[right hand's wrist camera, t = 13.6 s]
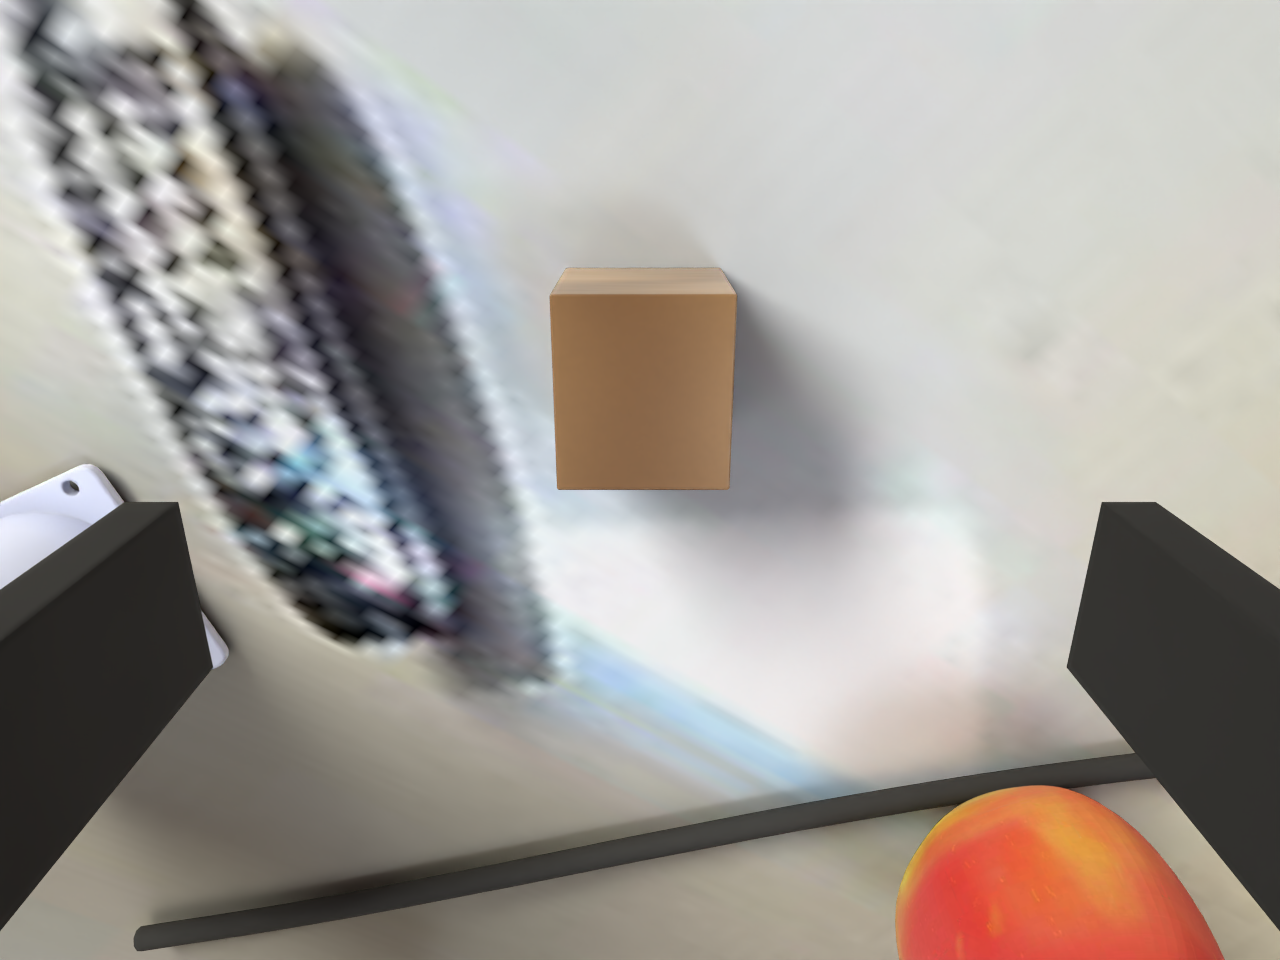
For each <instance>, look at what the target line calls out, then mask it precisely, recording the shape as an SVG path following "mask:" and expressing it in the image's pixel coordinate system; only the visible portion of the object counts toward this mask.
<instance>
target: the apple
mask: <svg viewBox="0 0 1280 960" xmlns="http://www.w3.org/2000/svg"><path fill="white" fill-rule="evenodd" d="M895 925H896V941H897V948H898V954H899V960H1224V957H1223V955H1222V953H1221V951H1220V948H1219V946H1218V944H1217V942H1216V940H1215V938H1214V936H1213V934H1212V932H1211V930H1210V929H1209V927H1208V925H1207V923H1206V921H1205V919H1204V917H1203V916H1202V914H1201V912H1200V911H1199V909H1198V908H1197V906H1196V904H1195V903H1194V901H1193V899H1192V898H1191V896H1190V895H1189V893H1188V892H1187V890H1186V889H1185V887H1184V886H1183V885H1182V883H1181V882H1180V880H1179V879H1178V878H1177V876H1176V875H1175V873H1174V872H1173V871H1172V869H1171V868H1170V867H1169V866H1168V864H1167V863H1166V862H1165V861H1164V859H1163V858H1162V857H1161V856H1160V855H1159V853H1158V852H1157V851H1156V850H1155V849H1154V848H1153V847H1152V845H1151V844H1150V843H1149V842H1148V841H1147V840H1146V839H1145V838H1144V837H1143V836H1142V835H1141V834H1140V833H1139V832H1138V831H1137V830H1136V829H1134V828H1133V827H1132V826H1131V825H1130V824H1128V823H1127V822H1126V821H1125V820H1124V819H1122V818H1121V817H1120V816H1118V815H1117V814H1115V813H1114V812H1112V811H1111V810H1109V809H1108V808H1106V807H1105V806H1103V805H1102V804H1100V803H1099V802H1097V801H1095V800H1093V799H1091V798H1089V797H1087V796H1085V795H1083V794H1080V793H1077V792H1074V791H1071V790H1069V789H1065V788H1061V787H1055V786H1044V785H1034V786H1021V787H1014V788H1007V789H1001V790H997V791H993V792H989V793H986V794H983V795H980V796H977V797H975V798H972V799H970V800H968V801H966V802H964V803H962V804H960V805H959V806H957V807H956V808H954V809H953V810H952V811H950V812H949V813H948V814H946V815H945V816H944V817H943V818H942V819H941V820H940V821H939V822H938V823H937V824H936V825H935V826H934V827H933V829H932V830H931V831H930V832H929V834H928V835H927V836H926V838H925V839H924V840H923V842H922V843H921V845H920V846H919V848H918V849H917V851H916V853H915V854H914V856H913V857H912V859H911V861H910V863H909V865H908V867H907V869H906V871H905V873H904V876H903V879H902V882H901V884H900V888H899V893H898V898H897V903H896V918H895Z"/></svg>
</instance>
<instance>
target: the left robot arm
mask: <svg viewBox="0 0 1280 960" xmlns="http://www.w3.org/2000/svg"><path fill="white" fill-rule="evenodd" d="M70 481H73V482H75V483H76V484H77V485H78V487H79V491H77V490H74V489H73V488H72V487H71V485H70ZM122 503H124V501H123V500H122V498H121V497H120V496H119V494H118V493H117V491H116V490H115V489H114V487H113V486H112V484H111V483H110V482H109V480H108V479H107V477H106V476H105V475H104V473H103V472H102V471H101V470H100V469H99V468H98V467H96V466H94V465H91V464H83V465H79V466H77V467H75V468H73V469H71V470H68V471H66V472H64V473H62V474H60V475H58V476H55V477H53V478H51V479H49V480H47V481H45V482H42V483H40V484H38V485H36V486H34V487H32V488H30V489H27V490H25V491H23V492H21V493H19V494H17V495H14V496H12V497H10V498H8V499H6V500H4V501H1V502H0V589H2V588H3V587H4V586H6V585H7V584H9V583H10V582H12V581H13V580H14V579H16V578H17V577H19V576H20V575H21V574H23V573H24V572H26V571H27V570H29V569H30V568H31V567H33V566H34V565H36V564H37V563H39V562H40V561H41V560H43V559H44V558H46V557H47V556H48V555H50V554H51V553H53V552H54V551H56V550H57V549H58V548H60V547H61V546H63V545H64V544H66V543H67V542H68V541H70V540H71V539H73V538H74V537H75V536H77V535H78V534H80V533H81V532H83V531H84V530H85V529H87V528H88V527H90V526H91V525H93V524H94V523H95V522H97V521H98V520H100V519H101V518H102V517H104V516H105V515H107V514H108V513H110V512H111V511H112V510H114V509H115V508H117V507H118V506H119V505H121V504H122ZM201 612H202V610H201ZM202 617H203V621H204V626H205V631H206V635H207V640H208V645H209V650H210V654H211V659H212V664H213V668H212V669H215V668H217V667H219V666H221V665H222V664H223V663H224V662H225V661H226V659H227V658H228V656H229V649H228V647H227V645H226V644H225V642H224V641H223V640H222V638H221V637H220V635H219V634H218V633H217V631H216V630H215V628H214V627H213V626H212V624H211V623H210V621H209V620H208V619H207V617H206V616H205V614H204V613H203V612H202ZM212 669H211V670H212Z"/></svg>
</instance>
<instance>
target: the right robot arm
mask: <svg viewBox="0 0 1280 960" xmlns="http://www.w3.org/2000/svg"><path fill="white" fill-rule="evenodd" d="M212 668H213V664H212V659H211V654H210V650H209V645H208V640H207V635H206V631H205V626H204V621H203V617H202V612H201V607H200V603H199V598H198V593H197V589H196V584H195V579H194V574H193V570H192V565H191V560H190V556H189V551H188V546H187V542H186V537H185V532H184V527H183V523H182V518H181V513H180V509H179V504H178V502H124V503H122V504H121V505H119V506H118V507H117V508H115V509H114V510H112V511H111V512H110V513H108V514H107V515H105V516H104V517H102V518H101V519H100V520H98V521H97V522H95V523H94V524H93V525H91V526H90V527H88V528H87V529H85V530H84V531H83V532H81V533H80V534H78V535H77V536H75V537H74V538H73V539H71V540H70V541H68V542H67V543H66V544H64V545H63V546H61V547H60V548H58V549H57V550H56V551H54V552H53V553H51V554H50V555H48V556H47V557H46V558H44V559H43V560H41V561H40V562H39V563H37V564H36V565H34V566H33V567H31V568H30V569H29V570H27V571H26V572H24V573H23V574H21V575H20V576H19V577H17V578H16V579H14V580H13V581H12V582H10V583H9V584H7V585H6V586H4V587H3V588H2V589H0V931H1V929H2V928H3V927H4V926H5V924H6V923H7V922H8V921H9V919H10V918H11V917H12V916H13V915H14V913H15V912H16V911H17V910H18V908H19V907H20V906H21V905H22V903H23V902H24V901H25V900H26V898H27V897H28V896H29V895H30V893H31V892H32V891H33V890H34V889H35V887H36V886H37V885H38V884H39V882H40V881H41V880H42V879H43V877H44V876H45V875H46V874H47V872H48V871H49V870H50V869H51V867H52V866H53V865H54V864H55V863H56V861H57V860H58V859H59V858H60V856H61V855H62V854H63V853H64V851H65V850H66V849H67V848H68V846H69V845H70V844H71V843H72V841H73V840H74V839H75V838H76V837H77V835H78V834H79V833H80V832H81V830H82V829H83V828H84V827H85V825H86V824H87V823H88V822H89V820H90V819H91V818H92V817H93V815H94V814H95V813H96V812H97V811H98V809H99V808H100V807H101V806H102V804H103V803H104V802H105V801H106V799H107V798H108V797H109V796H110V794H111V793H112V792H113V791H114V790H115V788H116V787H117V786H118V785H119V783H120V782H121V781H122V780H123V778H124V777H125V776H126V775H127V773H128V772H129V771H130V770H131V768H132V767H133V766H134V765H135V764H136V762H137V761H138V760H139V759H140V757H141V756H142V755H143V754H144V752H145V751H146V750H147V749H148V747H149V746H150V745H151V744H152V742H153V741H154V740H155V739H156V738H157V736H158V735H159V734H160V733H161V731H162V730H163V729H164V728H165V726H166V725H167V724H168V723H169V721H170V720H171V719H172V718H173V716H174V715H175V714H176V713H177V712H178V710H179V709H180V708H181V707H182V705H183V704H184V703H185V702H186V700H187V699H188V698H189V697H190V695H191V694H192V693H193V692H194V690H195V689H196V688H197V687H198V686H199V684H200V683H201V682H202V681H203V679H204V678H205V677H206V676H207V674H208V673H209V672H210V671H211V669H212ZM1067 668H1068V669H1069V671H1070V672H1071V673H1072V674H1073V676H1074V677H1075V678H1076V679H1077V681H1078V682H1079V683H1080V684H1081V686H1082V687H1083V688H1084V689H1085V690H1086V692H1087V693H1088V694H1089V695H1090V697H1091V698H1092V699H1093V700H1094V702H1095V703H1096V704H1097V705H1098V707H1099V708H1100V709H1101V710H1102V712H1103V713H1104V714H1105V715H1106V716H1107V718H1108V719H1109V720H1110V721H1111V723H1112V724H1113V725H1114V726H1115V728H1116V729H1117V730H1118V731H1119V733H1120V734H1121V735H1122V736H1123V738H1124V739H1125V740H1126V741H1127V742H1128V744H1129V745H1130V746H1131V747H1132V749H1133V750H1134V751H1135V752H1136V753H1133V754H1125V755H1117V756H1109V757H1101V758H1093V759H1085V760H1077V761H1070V762H1062V763H1055V764H1047V765H1040V766H1033V767H1025V768H1018V769H1011V770H1004V771H997V772H990V773H984V774H977V775H970V776H964V777H957V778H951V779H944V780H938V781H932V782H926V783H920V784H914V785H908V786H902V787H896V788H890V789H884V790H878V791H872V792H866V793H860V794H854V795H849V796H843V797H837V798H831V799H826V800H820V801H814V802H809V803H803V804H798V805H792V806H787V807H782V808H776V809H771V810H766V811H760V812H755V813H750V814H745V815H739V816H734V817H729V818H724V819H719V820H714V821H709V822H703V823H698V824H693V825H688V826H683V827H678V828H673V829H668V830H662V831H657V832H652V833H647V834H642V835H637V836H632V837H627V838H622V839H617V840H612V841H607V842H602V843H597V844H592V845H587V846H583V847H578V848H573V849H568V850H563V851H558V852H553V853H548V854H543V855H539V856H534V857H529V858H524V859H519V860H514V861H509V862H504V863H499V864H494V865H488V866H483V867H478V868H473V869H468V870H463V871H458V872H453V873H448V874H443V875H438V876H433V877H428V878H423V879H418V880H412V881H407V882H402V883H397V884H392V885H387V886H382V887H376V888H371V889H366V890H360V891H355V892H349V893H344V894H339V895H333V896H327V897H322V898H316V899H310V900H305V901H299V902H293V903H287V904H281V905H275V906H269V907H263V908H257V909H251V910H244V911H238V912H231V913H225V914H218V915H212V916H205V917H199V918H192V919H186V920H179V921H173V922H166V923H160V924H154V925H147V926H141V927H140V928H139V929H138V930H137V931H136V933H135V936H134V947H135V949H136V950H137V951H146V950H152V949H159V948H165V947H172V946H178V945H185V944H191V943H198V942H205V941H211V940H218V939H225V938H231V937H238V936H244V935H251V934H257V933H263V932H270V931H276V930H282V929H288V928H294V927H300V926H306V925H312V924H317V923H323V922H329V921H334V920H340V919H346V918H351V917H357V916H362V915H368V914H373V913H378V912H384V911H389V910H394V909H400V908H405V907H410V906H415V905H420V904H426V903H431V902H436V901H441V900H446V899H451V898H456V897H462V896H467V895H472V894H477V893H482V892H487V891H492V890H498V889H503V888H508V887H513V886H518V885H523V884H528V883H533V882H538V881H543V880H548V879H553V878H558V877H563V876H568V875H573V874H578V873H583V872H588V871H593V870H598V869H603V868H608V867H613V866H618V865H623V864H628V863H633V862H638V861H643V860H648V859H653V858H659V857H664V856H669V855H674V854H679V853H685V852H690V851H695V850H700V849H705V848H711V847H716V846H721V845H726V844H731V843H737V842H742V841H747V840H752V839H758V838H763V837H768V836H774V835H779V834H785V833H790V832H795V831H801V830H807V829H812V828H818V827H823V826H829V825H835V824H841V823H847V822H852V821H858V820H864V819H870V818H876V817H882V816H888V815H894V814H900V813H906V812H912V811H918V810H925V809H931V808H937V807H943V806H950V805H956V804H962V803H964V802H966V801H968V800H970V799H972V798H975V797H977V796H980V795H983V794H986V793H989V792H993V791H997V790H1001V789H1007V788H1014V787H1021V786H1034V785H1044V786H1055V787H1061V788H1065V789H1069V788H1077V787H1085V786H1092V785H1100V784H1108V783H1116V782H1125V781H1133V780H1141V779H1150V778H1157V780H1158V781H1159V782H1160V783H1161V785H1162V786H1163V787H1164V788H1165V790H1166V791H1167V792H1168V793H1169V794H1170V796H1171V797H1172V798H1173V799H1174V801H1175V802H1176V803H1177V804H1178V806H1179V807H1180V808H1181V809H1182V811H1183V812H1184V813H1185V814H1186V815H1187V817H1188V818H1189V819H1190V820H1191V822H1192V823H1193V824H1194V825H1195V827H1196V828H1197V829H1198V830H1199V832H1200V833H1201V834H1202V835H1203V837H1204V838H1205V839H1206V840H1207V841H1208V843H1209V844H1210V845H1211V846H1212V848H1213V849H1214V850H1215V851H1216V853H1217V854H1218V855H1219V856H1220V858H1221V859H1222V860H1223V861H1224V863H1225V864H1226V865H1227V866H1228V867H1229V869H1230V870H1231V871H1232V872H1233V874H1234V875H1235V876H1236V877H1237V879H1238V880H1239V881H1240V882H1241V884H1242V885H1243V886H1244V887H1245V889H1246V890H1247V891H1248V892H1249V893H1250V895H1251V896H1252V897H1253V898H1254V900H1255V901H1256V902H1257V903H1258V905H1259V906H1260V907H1261V908H1262V910H1263V911H1264V912H1265V913H1266V915H1267V916H1268V917H1269V918H1270V919H1271V921H1272V922H1273V923H1274V924H1275V926H1276V927H1277V928H1278V929H1279V931H1280V589H1278V588H1277V587H1276V586H1274V585H1273V584H1271V583H1270V582H1268V581H1267V580H1266V579H1264V578H1263V577H1261V576H1260V575H1259V574H1257V573H1256V572H1254V571H1253V570H1251V569H1250V568H1249V567H1247V566H1246V565H1244V564H1243V563H1241V562H1240V561H1239V560H1237V559H1236V558H1234V557H1233V556H1232V555H1230V554H1229V553H1227V552H1226V551H1224V550H1223V549H1222V548H1220V547H1219V546H1217V545H1216V544H1214V543H1213V542H1212V541H1210V540H1209V539H1207V538H1206V537H1205V536H1203V535H1202V534H1200V533H1199V532H1197V531H1196V530H1195V529H1193V528H1192V527H1190V526H1189V525H1187V524H1186V523H1185V522H1183V521H1182V520H1180V519H1179V518H1178V517H1176V516H1175V515H1173V514H1172V513H1170V512H1169V511H1168V510H1166V509H1165V508H1163V507H1162V506H1161V505H1159V504H1158V503H1156V502H1102V504H1101V509H1100V513H1099V518H1098V523H1097V527H1096V532H1095V537H1094V542H1093V546H1092V551H1091V556H1090V560H1089V565H1088V570H1087V574H1086V579H1085V584H1084V588H1083V593H1082V598H1081V603H1080V607H1079V612H1078V617H1077V621H1076V626H1075V631H1074V635H1073V640H1072V645H1071V650H1070V654H1069V659H1068V664H1067Z"/></svg>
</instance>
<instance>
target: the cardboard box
mask: <svg viewBox="0 0 1280 960" xmlns="http://www.w3.org/2000/svg"><path fill="white" fill-rule="evenodd" d="M736 314H737V294H736V293H735V291H734V289H733V288H732V286H731V284H730V283H729V281H728V279H727V278H726V276H725V274H724V273H723V271H722V270H721V268H566V269H565V271H564V272H563V274H562V276H561V277H560V279H559V281H558V282H557V284H556V286H555V287H554V289H553V291H552V293H551V294H550V317H551V343H552V368H553V394H554V419H555V445H556V471H557V488H558V490H728V489H729V488H730V464H731V439H732V414H733V389H734V364H735V339H736Z"/></svg>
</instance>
